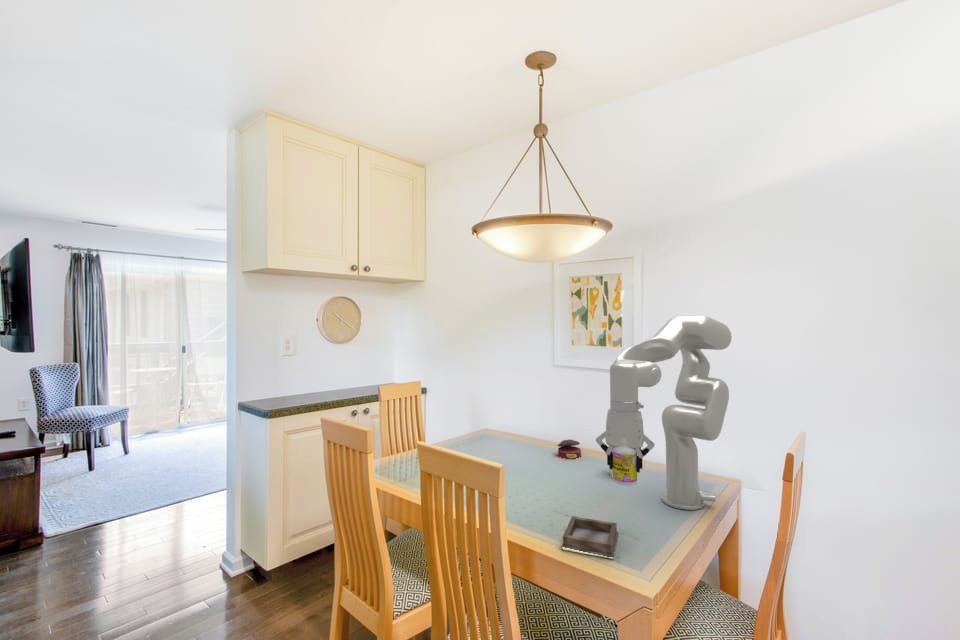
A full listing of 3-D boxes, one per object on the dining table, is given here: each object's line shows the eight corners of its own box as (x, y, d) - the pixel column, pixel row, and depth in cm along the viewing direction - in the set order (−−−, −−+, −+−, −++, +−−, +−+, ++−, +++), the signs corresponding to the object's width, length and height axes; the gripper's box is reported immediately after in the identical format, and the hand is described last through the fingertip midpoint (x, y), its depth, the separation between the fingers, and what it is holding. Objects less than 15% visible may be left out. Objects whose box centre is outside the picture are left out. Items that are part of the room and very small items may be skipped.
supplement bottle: (608, 482, 123) (607, 436, 123) (619, 476, 128) (619, 432, 128) (630, 488, 118) (630, 441, 118) (641, 481, 123) (641, 436, 123)
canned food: (559, 468, 190) (548, 446, 192) (569, 459, 198) (558, 439, 200) (580, 460, 183) (568, 438, 185) (589, 451, 191) (578, 431, 193)
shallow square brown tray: (618, 535, 122) (618, 522, 122) (613, 560, 110) (613, 546, 110) (571, 527, 127) (570, 515, 127) (561, 550, 115) (561, 536, 115)
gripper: (657, 406, 123) (657, 469, 123) (594, 402, 130) (595, 461, 130) (657, 411, 116) (657, 477, 116) (590, 406, 123) (591, 469, 123)
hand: (624, 468), depth 123 cm, fingers closed on supplement bottle, 6 cm apart
